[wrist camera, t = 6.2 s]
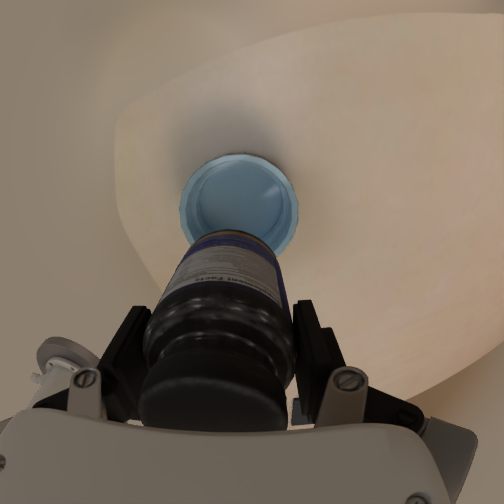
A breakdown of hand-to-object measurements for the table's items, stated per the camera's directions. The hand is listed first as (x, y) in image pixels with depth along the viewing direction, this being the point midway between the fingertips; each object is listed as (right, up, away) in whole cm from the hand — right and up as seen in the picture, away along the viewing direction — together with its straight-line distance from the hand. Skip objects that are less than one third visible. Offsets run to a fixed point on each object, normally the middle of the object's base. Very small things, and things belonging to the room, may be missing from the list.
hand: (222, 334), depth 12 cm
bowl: (0, +9, +18) cm, 20 cm away
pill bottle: (0, +2, +6) cm, 6 cm away
